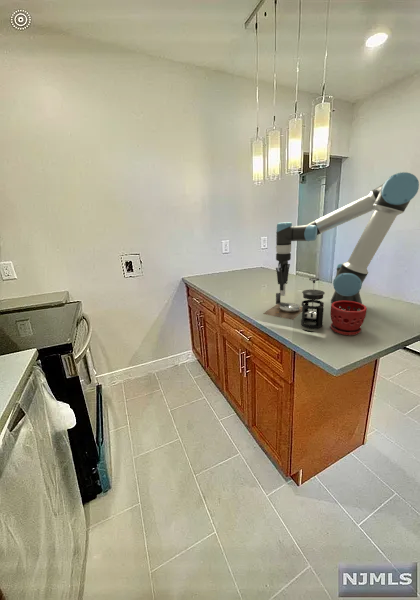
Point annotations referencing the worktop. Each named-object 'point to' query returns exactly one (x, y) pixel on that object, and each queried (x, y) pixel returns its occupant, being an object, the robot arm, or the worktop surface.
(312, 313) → the french press
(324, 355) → the worktop surface
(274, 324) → the worktop surface
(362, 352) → the worktop surface
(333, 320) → the plant pot
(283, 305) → the silver dish with post
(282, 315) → the board
